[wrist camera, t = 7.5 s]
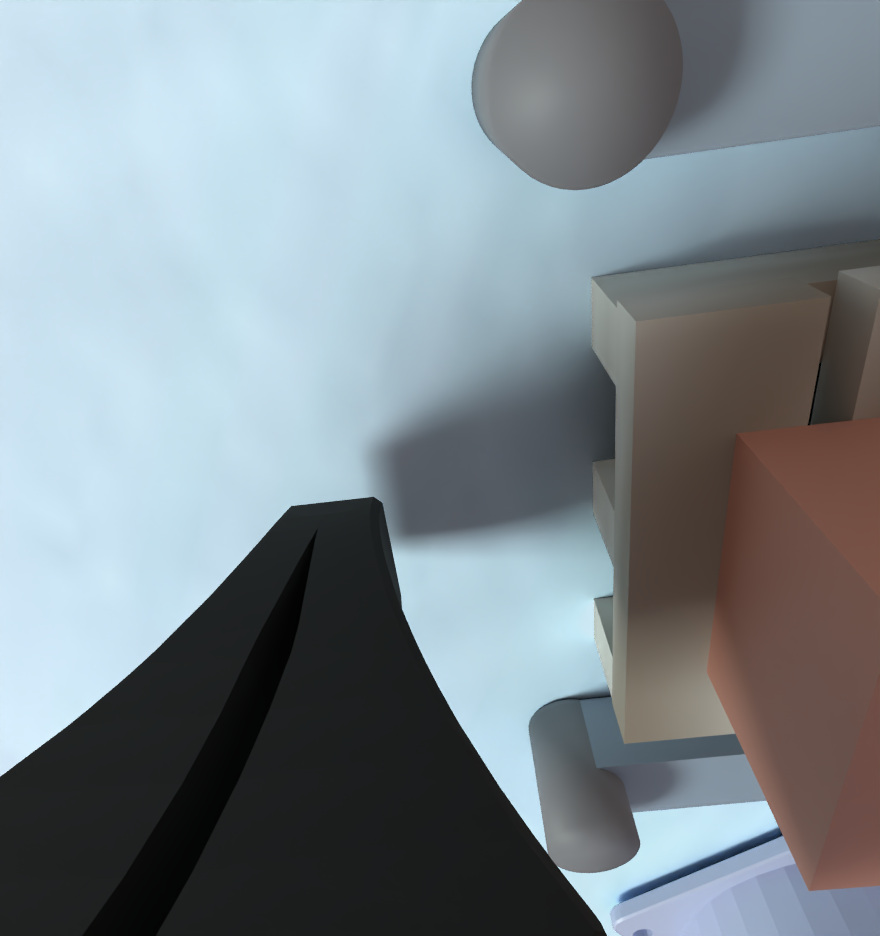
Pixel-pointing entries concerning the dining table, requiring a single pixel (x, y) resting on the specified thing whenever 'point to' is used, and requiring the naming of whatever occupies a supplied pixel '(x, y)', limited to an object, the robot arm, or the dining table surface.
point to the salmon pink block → (807, 638)
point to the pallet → (708, 444)
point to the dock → (602, 161)
